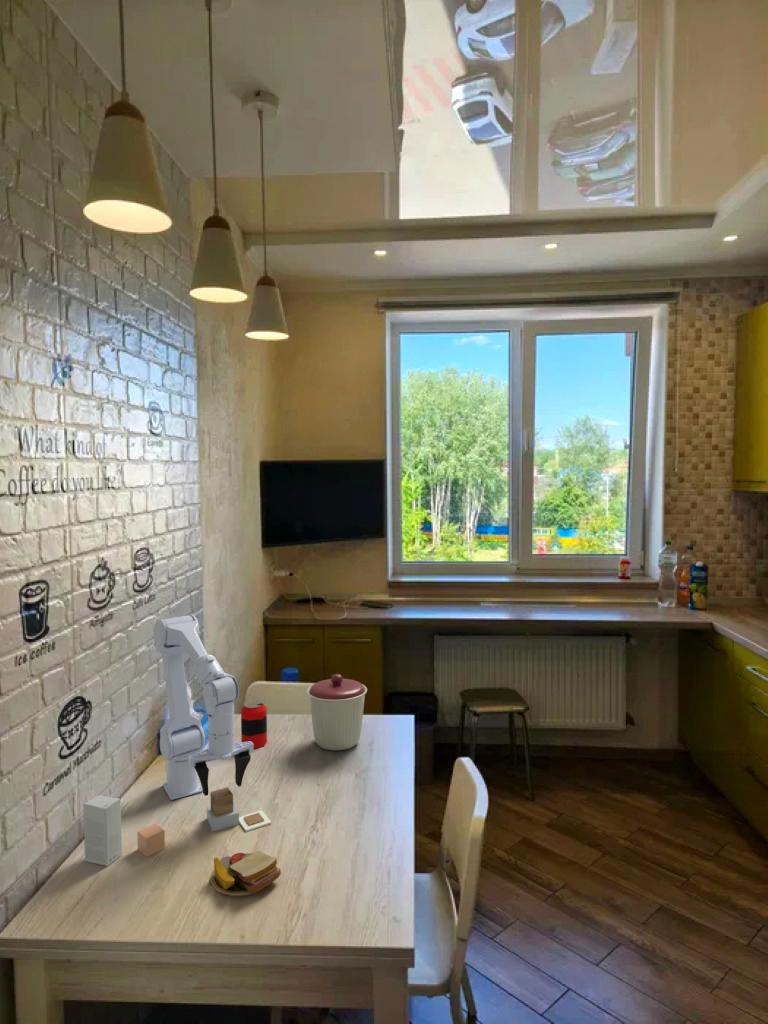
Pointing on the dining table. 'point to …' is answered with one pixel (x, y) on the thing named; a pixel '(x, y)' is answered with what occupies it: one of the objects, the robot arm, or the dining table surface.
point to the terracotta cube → (151, 839)
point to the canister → (337, 712)
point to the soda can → (254, 723)
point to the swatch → (254, 820)
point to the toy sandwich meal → (244, 873)
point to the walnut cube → (221, 801)
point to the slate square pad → (222, 819)
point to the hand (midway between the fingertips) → (222, 789)
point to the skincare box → (102, 830)
